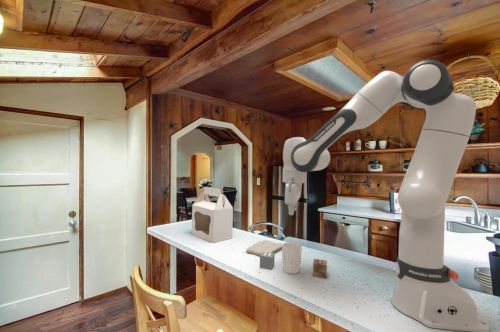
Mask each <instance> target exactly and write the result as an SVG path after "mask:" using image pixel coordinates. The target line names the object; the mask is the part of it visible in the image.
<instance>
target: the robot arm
mask: <svg viewBox="0 0 500 332" xmlns="http://www.w3.org/2000/svg"><path fill="white" fill-rule="evenodd" d="M454 90H455V86H454V83H453V80H452V75H451V73H450V71H449V69H448V68H447V66H446V65H445V64H443V63H442V62H440V61H439V60H435V59H426V60H421V61H419V62H417V63H415V64H413V65H412V66H411V67H410V68H409V69H408V70H407V71H406V72H405V74H404V76H402V75H400V74H399V73H397V72H396V71H395V72H394V71H392V70H383V71H381V72H380V73H378V74H377V75H375V76H374V77H373V78H372V79H371V80H369V81H368V82H367V83H366V84H365V85H364V86H363V87H362V88H360V89H359V91H358V92H356V94H355V95H353V97H352V98H351V99H349V101H348V102H347V103H346V104H345V105H344V106H343V107H342V108H341V109H340V110H339V111H338V112H337V113H336V114H334V116H333V117H331V118H330V119H329V120H328V121H327V122H326V123H324V124H323V125H322V126H321V128H319V129H318V130H317V131H316V132H315V133H314V134H313V135H312V136H311V137H309V138H308V139H306V138H304V137H301V136H294V137H290V138H287V139H286V140H285V141H284V145H283V151H282V161H283V167H282V181H281V182H282V183H285V188H284V204H285V205H287V208H288V215H289V216H294V213H295V212H296V211H297V209H298V202H299V199H300V198H301V195H302V186H303V184H304V183H306V173H308V172H315V171H316V172H317V171H322V170H324V169H326V168H327V167H329V164H330V162H331V153H330V151H329V150H328V148H329V147H331V146H332V145H333V144H334V143H335V142H336V141H337V140H338V139H339V138H340V137H342V136H344V135H345V134H347V133H350V132H352V131H353V132H354V131H356V130H363V129H366V128H368V127H369V126H371V125H372V124H374V123H375V122H377V121H378V120H379V119H380V118H381V117H382V116H383V115H384V114H385V113H387V111H389V109H391V108H392V107H393V106H394V105H396V104H398V103H400V104H401V105H404V106H407V107H410V108H413V109H416V110H420V111H421V110H423V111H424V110H425V114H426V115H425V118H424V123H423V125H422V129H421V132H420V135H419V137H418V140H417V143H416V146H415V149H414V153H413V155H412V158H411V160H410V162H409V165H408V167H407V170H406V172H405V175H404V177H403V180H402V182H401V185H400V188H399V190H398V193H397V202H398V206H399V207H400V208H401V216H400V217H401V218H400V223H399V224H400V225H399V231H398V255H397V257H396V263H395V268H396V269H395V273H396V280H395V281H396V282H395V285H394V286H395V287H394V290H393V294H392V297H391V299H390V301H391V304H392V306H393V307H395V309H396V310H398V311H400V313H402V314H404V315H406V316H408V317H410V318H413V319H415V320H417V321H418V322H420V323H421V324H422V325H425V326H426V327H428V328H432V329H443V330H451V331H463V332H464V331H465V332H490V324H489V323H488V321H487V320H486V319H485V317H484V316H483V315H481V313H479V311H478V308H477V305H476V302H475V301H474V298H472V297H471V295H470V294H469V293H467V291H466V290H464V289H463V288H462V287H461V286H459V285H458V284H457V283H456V282H455V281H458V279H460V275H459V274H458V273H457V272H456V271H455V270H453V269H451V268H450V267H449V266H447V265H445V264H444V252H445V250H444V249H445V224H446V222H445V219H446V205H447V201H448V198H449V196H450V192H451V189H452V187H453V184H454V181H455V179H456V175H457V172H458V169H459V165H460V163H461V161H462V158H463V156H464V153H465V150H466V148H467V144H468V142H469V139H470V136H471V133H472V130H473V127H474V123H475V119H476V111H477V102H476V101H475V99H474V98H472V97H471V96H469V95H467V94H463V93H459V92H458V93H456V92H454Z"/></svg>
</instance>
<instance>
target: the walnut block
mask: <svg viewBox="0 0 500 332" xmlns="http://www.w3.org/2000/svg"><path fill="white" fill-rule="evenodd" d="M327 268H328V260H325V259H319V258H313V261H312V277H315V278H322V279H328V277H327V275H328V274H327V273H328V269H327Z"/></svg>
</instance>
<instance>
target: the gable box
mask: <svg viewBox="0 0 500 332" xmlns="http://www.w3.org/2000/svg"><path fill="white" fill-rule="evenodd" d="M209 196H213V197H218V198H217V200H216V202H213V201H211V200H210V197H209ZM191 207H192V209H191V235H194V236H196V237H197V238H200V239H202V240H204V241H208V242H210V243H212V244H215V243H219V242H222V241H223V242H224V241H227V240H231V239H233V228H234V226H233V223H234V221H233V220H234V218H233V217H234V214H233V213H234V207H233V206H232V204H231V203H230V201H229V199H228V198H227V197H226V195H225V194H224V190H222V189H221V188H216V187H210V186H204V187H203V191H200V193H199V195H198V196H197V198H196V199H195V201H194V202H193V203H192V206H191Z"/></svg>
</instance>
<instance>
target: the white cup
mask: <svg viewBox="0 0 500 332" xmlns="http://www.w3.org/2000/svg"><path fill="white" fill-rule="evenodd" d="M281 244H282V250H281V254H282V255H281V257H282V261H281V262H282V270H283V271H284V272H285V273H287V274H291V275H292V274H293V275H294V274H299V273H300V272H301V264H302V253H303V252H302V251H303V246H302V244H300V243H297V242H292V241H291V242H290V241H288V242H287V241H285V242H283V243H281Z"/></svg>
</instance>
